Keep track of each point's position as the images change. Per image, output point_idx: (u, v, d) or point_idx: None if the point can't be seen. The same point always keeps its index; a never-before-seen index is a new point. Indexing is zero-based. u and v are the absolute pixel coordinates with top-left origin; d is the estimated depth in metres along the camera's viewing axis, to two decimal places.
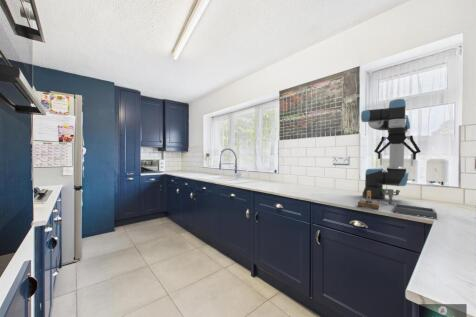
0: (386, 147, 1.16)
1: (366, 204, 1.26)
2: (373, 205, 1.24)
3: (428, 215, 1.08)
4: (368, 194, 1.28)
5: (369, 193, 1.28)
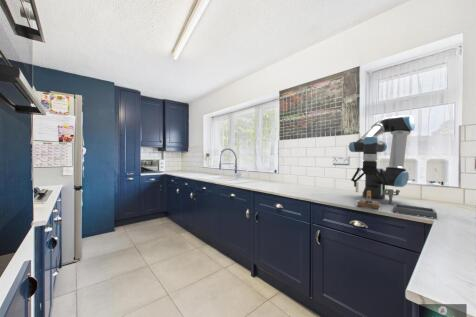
0: None
1: (366, 204, 1.26)
2: (373, 205, 1.24)
3: (428, 215, 1.08)
4: (368, 194, 1.28)
5: (369, 193, 1.28)
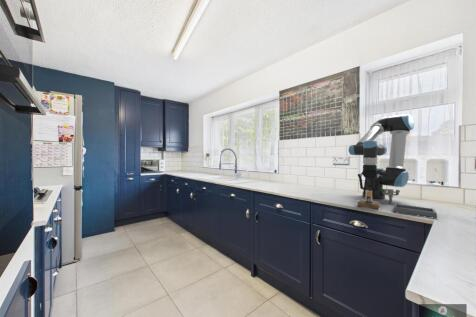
0: (367, 182, 1.31)
1: (366, 204, 1.26)
2: (373, 205, 1.24)
3: (428, 215, 1.08)
4: (368, 194, 1.28)
5: (369, 193, 1.28)
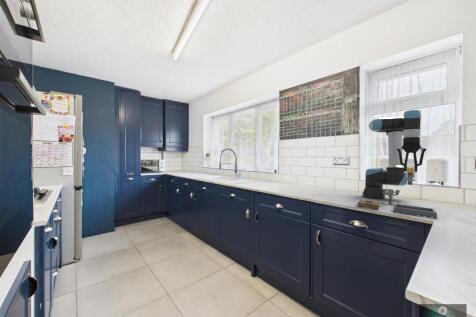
0: (407, 157, 1.18)
1: (366, 204, 1.26)
2: (373, 205, 1.24)
3: (428, 215, 1.08)
4: (410, 170, 1.15)
5: (411, 169, 1.15)
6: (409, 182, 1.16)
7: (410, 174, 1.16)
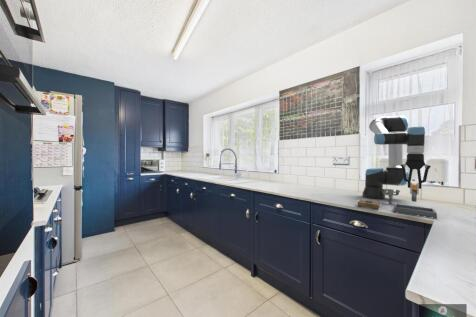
0: (411, 174, 1.17)
1: (366, 204, 1.26)
2: (373, 205, 1.24)
3: (428, 215, 1.08)
4: (414, 187, 1.14)
5: (415, 186, 1.14)
6: (413, 199, 1.15)
7: (414, 191, 1.15)
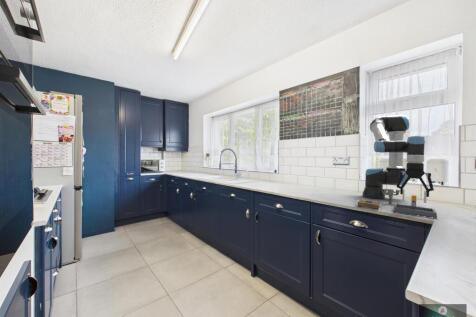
0: None
1: (366, 204, 1.26)
2: (373, 205, 1.24)
3: (428, 215, 1.08)
4: (414, 198, 1.14)
5: (415, 197, 1.14)
6: None
7: (413, 202, 1.15)
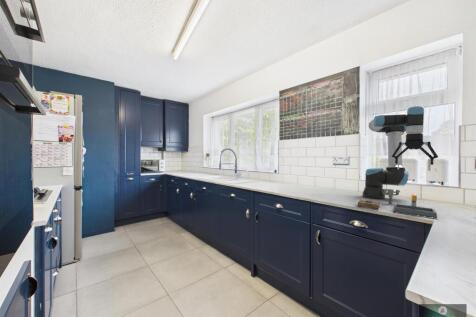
0: (403, 152, 1.20)
1: (366, 204, 1.26)
2: (373, 205, 1.24)
3: (428, 215, 1.08)
4: (414, 198, 1.14)
5: (415, 197, 1.14)
6: None
7: (414, 202, 1.15)
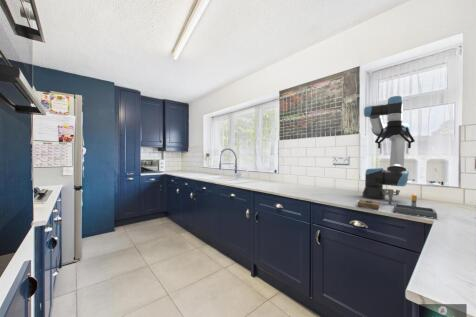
0: None
1: (366, 204, 1.26)
2: (373, 205, 1.24)
3: (428, 215, 1.08)
4: (414, 198, 1.14)
5: (415, 197, 1.14)
6: None
7: (414, 202, 1.15)
